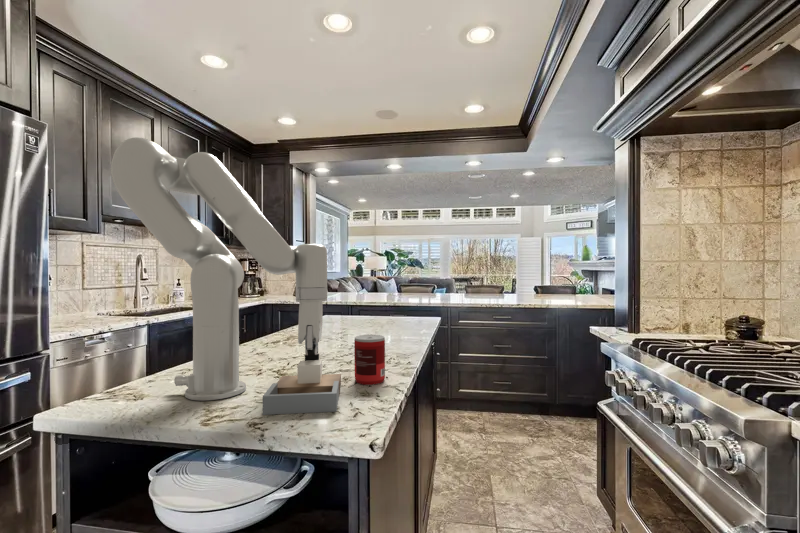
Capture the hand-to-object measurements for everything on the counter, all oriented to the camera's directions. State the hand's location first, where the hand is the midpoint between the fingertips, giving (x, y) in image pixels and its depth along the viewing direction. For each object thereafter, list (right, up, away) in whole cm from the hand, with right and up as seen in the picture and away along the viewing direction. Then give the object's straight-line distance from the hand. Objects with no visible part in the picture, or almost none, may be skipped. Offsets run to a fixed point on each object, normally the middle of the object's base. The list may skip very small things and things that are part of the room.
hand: (312, 370), depth 94 cm
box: (+1, -3, -14) cm, 14 cm away
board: (0, -3, -5) cm, 6 cm away
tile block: (+1, -1, -5) cm, 5 cm away
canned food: (+14, -4, +4) cm, 15 cm away
